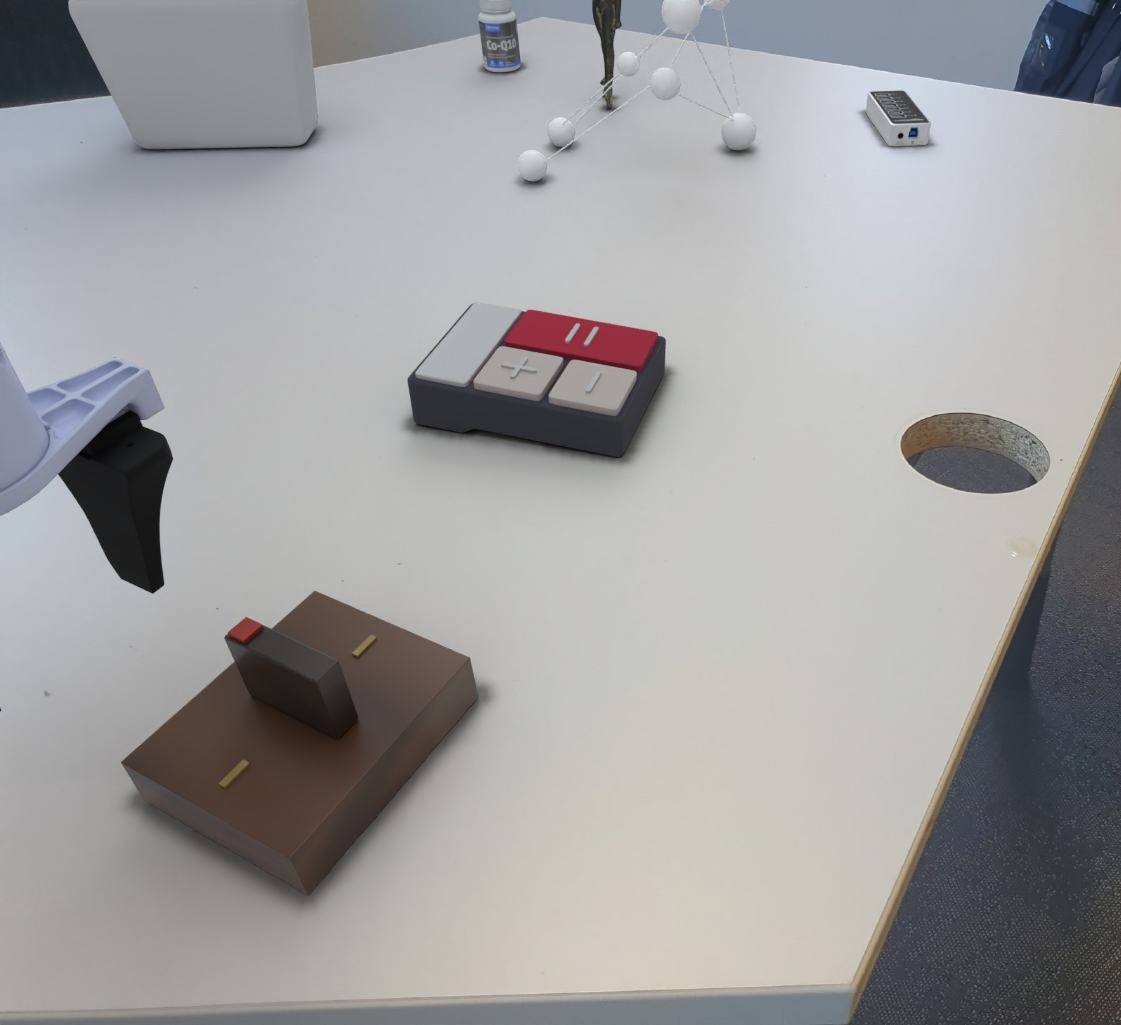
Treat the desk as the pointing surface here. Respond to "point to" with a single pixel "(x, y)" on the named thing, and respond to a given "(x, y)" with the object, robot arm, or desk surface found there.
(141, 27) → the radio
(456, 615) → the desk surface
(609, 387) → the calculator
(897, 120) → the multiport hub
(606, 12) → the statue
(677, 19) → the molecule model
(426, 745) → the plate
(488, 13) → the pill bottle
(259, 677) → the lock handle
